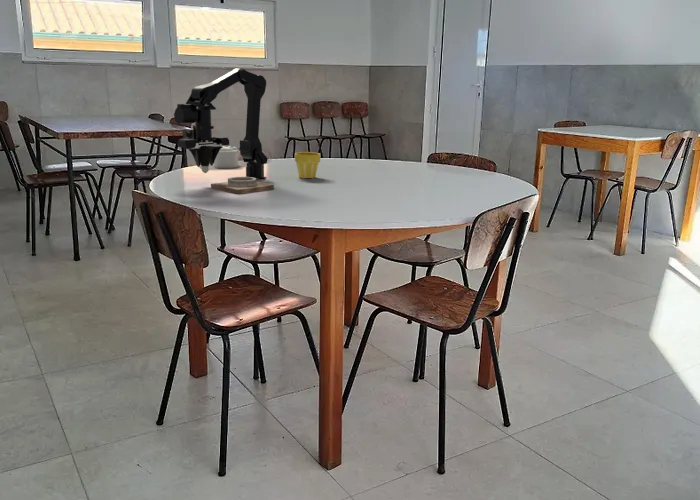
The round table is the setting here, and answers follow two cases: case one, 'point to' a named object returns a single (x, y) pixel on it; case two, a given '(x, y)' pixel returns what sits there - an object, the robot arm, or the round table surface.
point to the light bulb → (205, 157)
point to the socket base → (241, 189)
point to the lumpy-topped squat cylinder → (227, 158)
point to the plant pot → (307, 164)
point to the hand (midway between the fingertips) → (205, 166)
